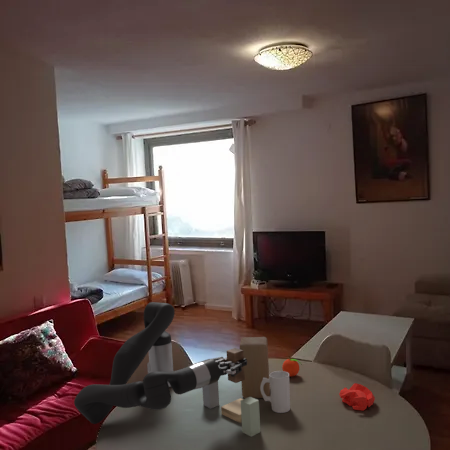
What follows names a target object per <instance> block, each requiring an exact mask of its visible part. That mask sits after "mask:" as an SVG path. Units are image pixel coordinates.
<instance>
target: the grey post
mask: <svg viewBox="0 0 450 450" xmlns="http://www.w3.org/2000/svg"><path fill="white" fill-rule="evenodd" d="M201 389H202V402H203V403H202V405H203V406H204V407H205V408H208V409H210V410H212V409H213V408H215V407H218V406H220V395H219V394H220V391H219V380H218V381H217V382H215V383H213V384H210V385H207V386H205V387H202V388H201Z"/></svg>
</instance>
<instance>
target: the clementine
mask: <svg viewBox="0 0 450 450" xmlns="http://www.w3.org/2000/svg"><path fill="white" fill-rule="evenodd" d="M299 363H300V361H299V360H298V359H295V358H287V359H285V360H284V361H283V363H282V367H281V368H282V371H285V372H288V373H289V378H290V377H295V376H296V375H298V374H299V371H300V364H301V365H302V363H300V364H299ZM302 366H303V365H302Z"/></svg>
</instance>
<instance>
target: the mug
mask: <svg viewBox="0 0 450 450" xmlns="http://www.w3.org/2000/svg"><path fill="white" fill-rule="evenodd" d="M267 382H268V383H270V396H266V395H265V393H264V390H263V386H264V384H265V383H267ZM260 390H261V394H262V396H263V398H262V399H263V400H264V401H265V402H270V404H271V405H270V406H271V410H272V411H273V412H275V413H278V414H283V413H287V412H289V411H290V410H291V399H290V398H291V397H290V396H291V395H290V393H291V391H290V390H291V389H290V376H289V373H288V372H285V371H283V370H275V371H271V372H269V379H267V378H264V377H263V380H262V382H261V386H260Z"/></svg>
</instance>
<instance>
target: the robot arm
mask: <svg viewBox="0 0 450 450" xmlns="http://www.w3.org/2000/svg"><path fill="white" fill-rule="evenodd" d="M174 318H175V308H174V306H173V305H172V304H170V303H166V302H159V301H158V302H156V301H150V302H149V303H147V304H146V305H145V308H144V310H143V323H144V328H143V329H142V330H141V331H138V332H137V333H135V334H133V335H132V336H131V337H129V338H128V339H127V340H126V341H125V342H124V343H123V344H122V345H121V347H119V349H118V350H117V352H116V354H115V355H114V357H113V362H112V366H111V367H112V369H111V375H110V376H111V377H110V381H109V384H102V383H101V384H96V383H95V384H94V383H93V384H89V385H87V386H84V387H83V388H82V389H81V390H80V391H79V392H78V393H77V394H76V396H75V397H74V400H73V405H74V406H75V408H76V410H77V411H78V412H79V413H80V414H81V415H82V416H83V417H84V418H85V419H86V420H87V421H89V422H90V423H91V424H92V425H97V424H99V423H100V422H102V421H103V420H104V419H105V418H106V417H107V416H108V414H109V413H110V411H111V410H112V409H113V407H118V408H122V409H126V408H127V409H128V408H129V409H130V408H136V407H142V408H146V409H149V410H153V411H154V410H155V411H158V410H163V409H165V408H167V407H169V405H170V403H171V401H172V395H171V391H170V388H171V390H172V391H173V392H174V393H175V394H176V395H183V394H186V393H188V392H191V391H194V390H198V389H202V387H205V386H207V385H210V384H213V383H215V382H217V381H218V382H219V380H220V378H221V377H223V376H225V375H228V374H231V377H234V376H236V375H237V374H238V373H240V372H241V371H242V367H243V366H246V365H247V359H245V358H244V359H242V360H239V361H236V362H232V361H229V362H227V356H226V357H224V356H219V357H213V358H207V359H205V360H201V361H198V362H194V363H193V364H190V365H188V366H187V367H183V368H180V369H178V370H174V364H173V363H174V361H173V347H172V335H171V334H170V333H169V332H168V331H166V330H167V329H168V328H169V326H170V325H171V324H172V322H173V320H174ZM147 354H148V362H147V363H146V364H147V365H146V366H147V374H146V375H144V377H143V379H142V381H140V380H139V381H133V382H129V380H130V379H131V377H132V376H133V374H134V373H135V371H136V370H137V369H138V368H139V366H140V365H141V363H142V362H143V360H144V359H145V357H146V356H147ZM229 364H230V366H229ZM235 364H236V365H235ZM234 365H235V366H234Z"/></svg>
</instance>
